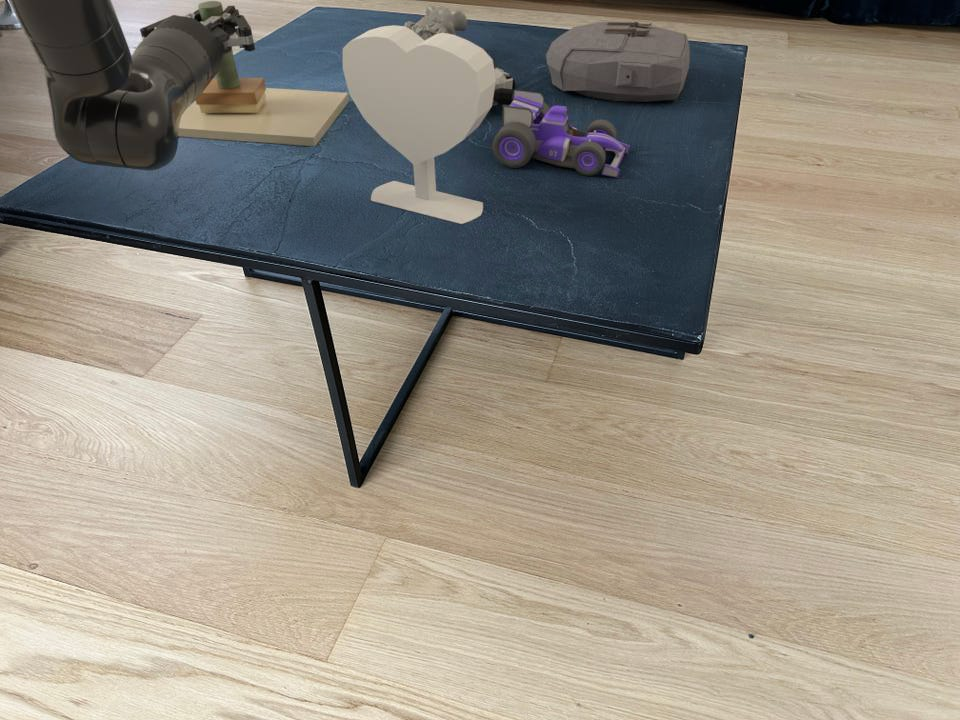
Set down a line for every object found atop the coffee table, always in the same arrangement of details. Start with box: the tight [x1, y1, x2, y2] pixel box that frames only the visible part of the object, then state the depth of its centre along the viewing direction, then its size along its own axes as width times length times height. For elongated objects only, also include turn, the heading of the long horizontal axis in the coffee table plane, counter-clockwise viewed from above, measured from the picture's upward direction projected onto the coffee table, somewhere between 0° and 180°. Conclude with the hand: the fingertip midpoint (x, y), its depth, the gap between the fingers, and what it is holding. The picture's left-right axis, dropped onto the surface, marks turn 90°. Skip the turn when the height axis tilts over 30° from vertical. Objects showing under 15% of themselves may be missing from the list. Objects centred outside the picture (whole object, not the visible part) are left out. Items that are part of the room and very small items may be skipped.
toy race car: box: [491, 89, 631, 178], centre depth 89 cm, size 10×15×6 cm, turn 70°
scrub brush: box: [195, 0, 267, 113], centre depth 96 cm, size 8×5×13 cm, turn 88°
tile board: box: [178, 87, 350, 147], centre depth 100 cm, size 20×14×1 cm
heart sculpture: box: [342, 24, 496, 225], centre depth 78 cm, size 16×5×18 cm, turn 63°
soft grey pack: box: [545, 21, 691, 103], centre depth 105 cm, size 15×8×20 cm
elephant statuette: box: [403, 4, 468, 41], centre depth 112 cm, size 9×12×8 cm
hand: (220, 14), depth 95 cm, fingers closed on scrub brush, 3 cm apart
